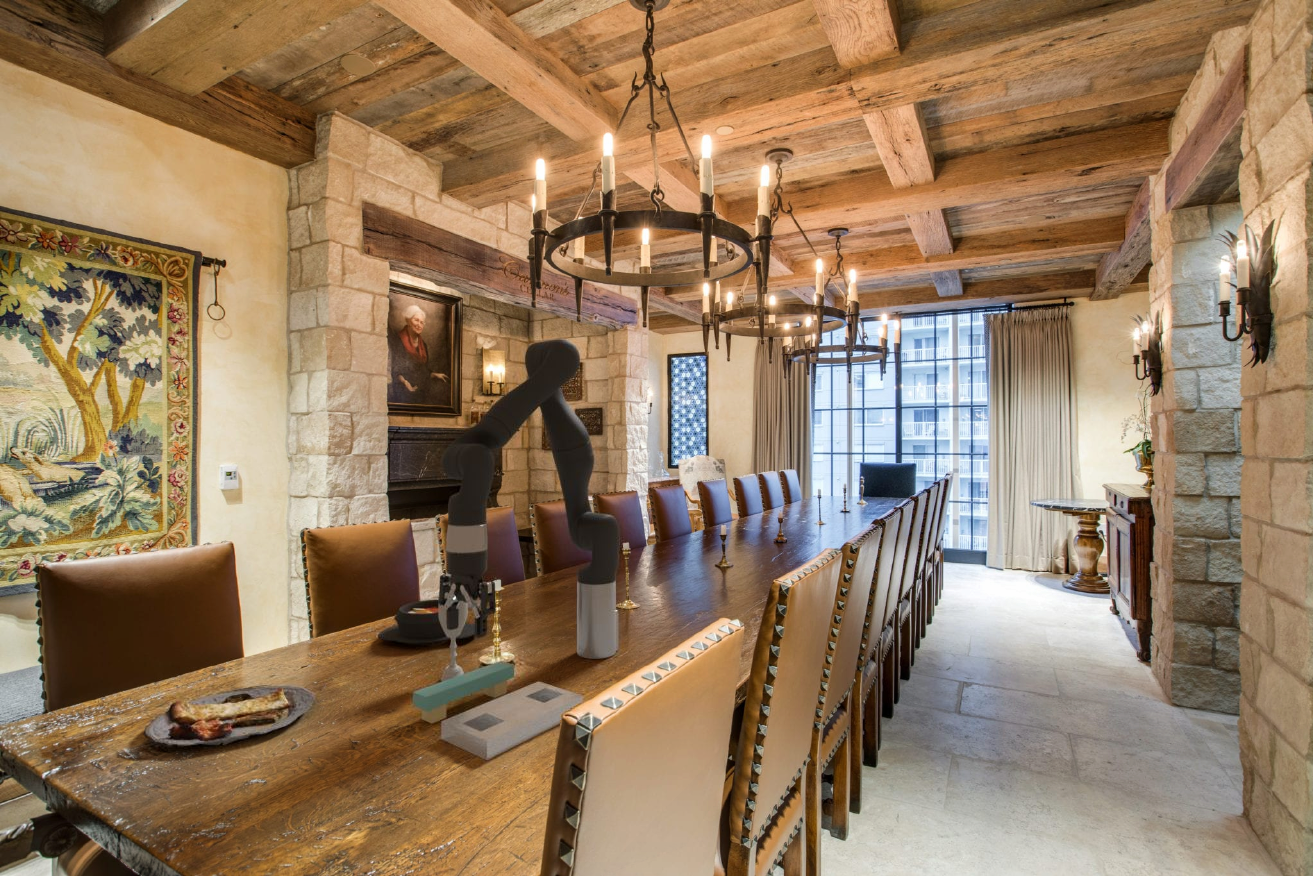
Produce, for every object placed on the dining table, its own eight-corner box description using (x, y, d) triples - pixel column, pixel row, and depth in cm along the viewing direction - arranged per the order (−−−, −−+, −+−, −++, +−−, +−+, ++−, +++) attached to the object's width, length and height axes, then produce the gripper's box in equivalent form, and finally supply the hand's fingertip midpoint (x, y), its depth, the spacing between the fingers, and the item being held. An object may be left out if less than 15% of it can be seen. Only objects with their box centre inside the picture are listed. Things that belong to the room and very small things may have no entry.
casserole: (486, 627, 170) (486, 596, 170) (470, 649, 151) (470, 615, 151) (393, 629, 168) (393, 598, 168) (365, 652, 150) (365, 617, 150)
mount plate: (538, 696, 123) (538, 681, 123) (583, 712, 116) (583, 695, 116) (441, 739, 105) (441, 721, 105) (487, 760, 98) (487, 741, 98)
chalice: (458, 685, 128) (459, 598, 129) (429, 683, 130) (429, 596, 130) (476, 673, 136) (476, 590, 136) (447, 670, 137) (447, 588, 137)
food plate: (126, 767, 96) (127, 744, 96) (162, 711, 117) (163, 692, 117) (311, 736, 107) (312, 716, 108) (314, 691, 128) (315, 673, 128)
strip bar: (501, 686, 128) (501, 660, 128) (514, 691, 126) (514, 664, 126) (412, 721, 112) (413, 692, 112) (425, 727, 109) (426, 697, 110)
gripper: (507, 548, 118) (506, 635, 118) (460, 542, 126) (459, 622, 126) (474, 554, 112) (473, 644, 112) (427, 546, 120) (426, 630, 120)
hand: (466, 632), depth 119 cm, fingers open, 8 cm apart
